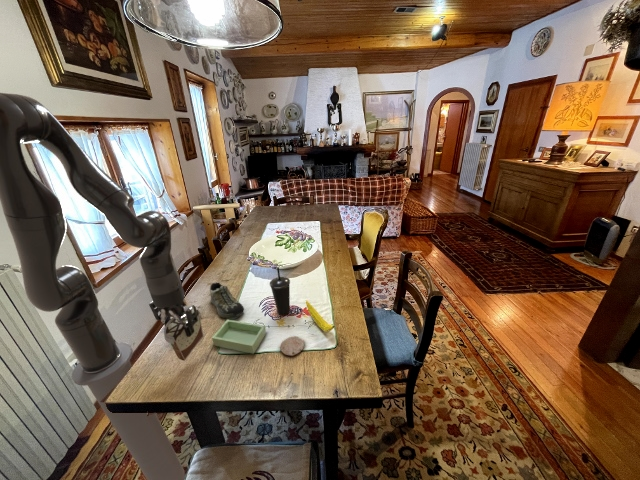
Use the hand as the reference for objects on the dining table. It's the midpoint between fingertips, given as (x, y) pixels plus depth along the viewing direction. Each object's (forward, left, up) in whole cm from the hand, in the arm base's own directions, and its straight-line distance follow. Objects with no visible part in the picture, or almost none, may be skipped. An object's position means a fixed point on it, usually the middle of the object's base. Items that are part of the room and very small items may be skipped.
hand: (180, 332), depth 75 cm
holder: (+10, +12, -13) cm, 20 cm away
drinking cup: (+19, +29, -13) cm, 37 cm away
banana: (+35, +25, -13) cm, 45 cm away
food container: (0, 0, -6) cm, 6 cm away
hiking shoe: (-5, +26, -13) cm, 29 cm away
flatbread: (+29, +13, -13) cm, 34 cm away
